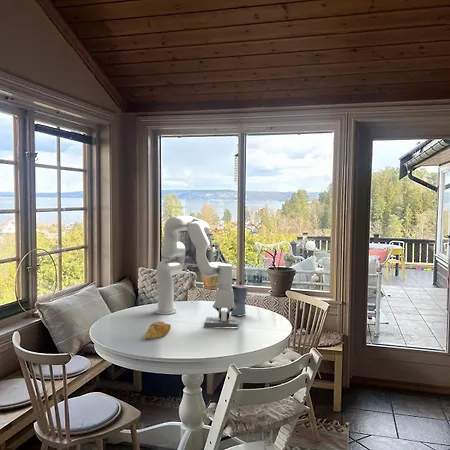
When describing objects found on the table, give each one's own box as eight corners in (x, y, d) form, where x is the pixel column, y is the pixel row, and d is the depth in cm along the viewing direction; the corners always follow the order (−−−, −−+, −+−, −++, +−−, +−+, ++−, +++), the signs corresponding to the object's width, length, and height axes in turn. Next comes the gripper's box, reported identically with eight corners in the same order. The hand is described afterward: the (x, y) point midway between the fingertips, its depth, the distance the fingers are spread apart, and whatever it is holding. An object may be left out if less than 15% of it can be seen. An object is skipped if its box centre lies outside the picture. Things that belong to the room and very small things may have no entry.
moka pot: (251, 313, 279) (252, 281, 278) (238, 319, 266) (239, 285, 265) (238, 311, 285) (238, 279, 283) (224, 316, 272) (225, 283, 270)
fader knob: (221, 322, 255) (221, 309, 255) (227, 322, 255) (227, 310, 255) (221, 324, 251) (221, 311, 251) (226, 324, 251) (226, 311, 251)
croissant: (149, 348, 222) (156, 335, 220) (134, 336, 225) (141, 323, 223) (173, 336, 241) (179, 324, 239) (159, 324, 244) (165, 312, 242)
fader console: (206, 321, 260) (206, 316, 260) (238, 322, 258) (238, 318, 258) (204, 327, 248) (204, 322, 248) (237, 328, 247) (237, 323, 246)
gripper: (209, 287, 249) (208, 320, 250) (239, 288, 247) (238, 322, 249) (210, 284, 256) (210, 317, 257) (240, 285, 255) (239, 318, 256)
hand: (224, 319), depth 253 cm, fingers closed on fader knob, 3 cm apart
